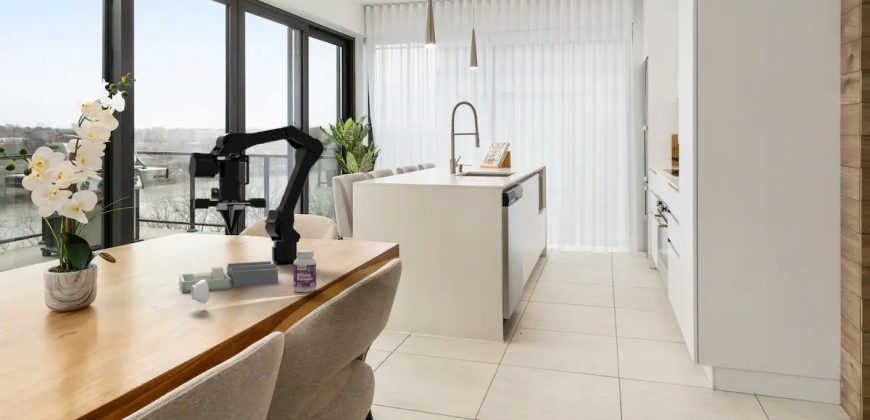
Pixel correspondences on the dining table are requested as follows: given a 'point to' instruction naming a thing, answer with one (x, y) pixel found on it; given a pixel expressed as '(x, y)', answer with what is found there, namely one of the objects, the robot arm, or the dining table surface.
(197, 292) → the white flared knob
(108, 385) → the dining table surface
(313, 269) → the pill bottle
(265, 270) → the bench board
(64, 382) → the dining table surface
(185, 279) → the tray
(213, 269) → the tile
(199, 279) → the tile
